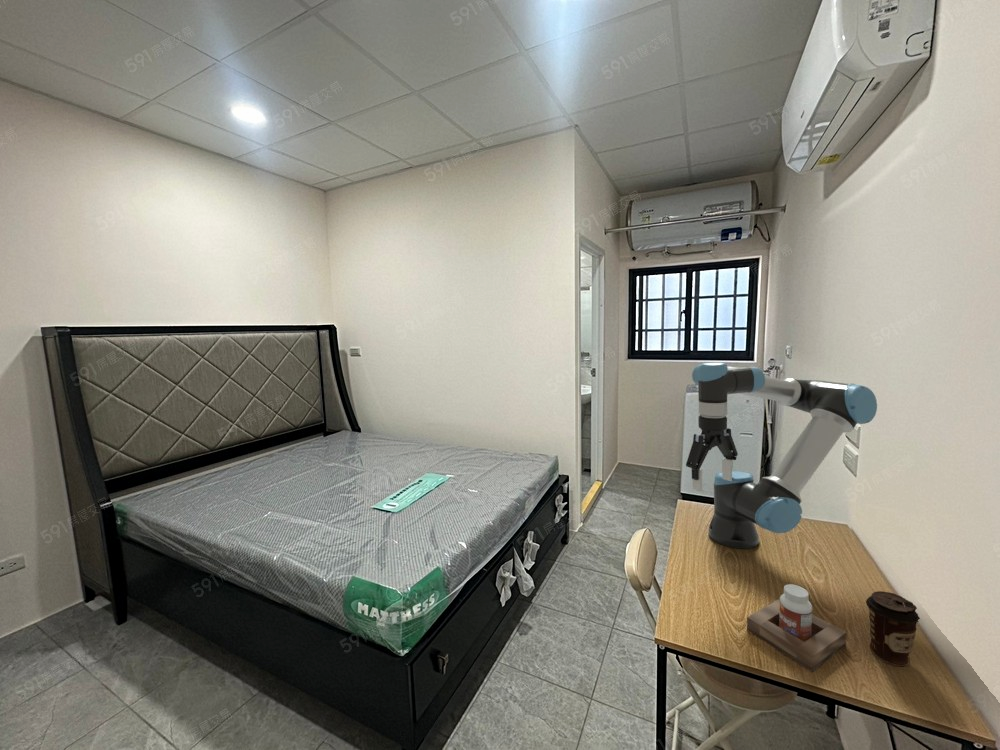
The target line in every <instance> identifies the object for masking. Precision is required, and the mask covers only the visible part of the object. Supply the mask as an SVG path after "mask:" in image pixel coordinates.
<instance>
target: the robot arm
mask: <svg viewBox="0 0 1000 750" xmlns="http://www.w3.org/2000/svg"><path fill="white" fill-rule="evenodd" d="M691 377H692V381H693V383H694V384H695V385H697V389H698V390H697V392H698V395H697V396H698V397H697V398H698V414H699V415H698V421H697V422H698V428H699V429H701V433H700V434H696V433H694V434H693V436H692V437H693V440H692V444H691V447H690V450H689V453H688V457H687V460H686V464H685V466H686V467H688V468H691V479H692V482H691V483H692V486H691V487H692V489H693V490H696V491H699V492H703V468H701V467H702V465H703V463H704V461H705V460H706V457H707V455H708V454H709V451H711V450H712V449H713V448H715V447H717V448H718V449H719V452H720V453H721V454H722V456H723V458H721V461H722V462H721V469H722V470H721V472H718V473H716V474H715V475H714V481H713V482H714V483H713V501H714V503H713V506H714V507H713V508H714V509H713V514H712V515H713V516H712V517H711V520H710V523H709V526H708V535H709V537H710V539H712V540H713V541H714V542H716V543H718V544H720V545H723V546H726V547H730V548H735V549H743V550H744V549H751V548H754V547H757V546H758V544H759V542H760V541H759V538H760V537H759V536H760V535H759V533H758V529H757V528H756V525H758V527H759V528H761V529H763V530H766V531H769V532H771V533H774V534H786V533H789V532H791V531H792V530H794V529H795V528H796V527H797V526H798V525H799V524H800V522H801V519H802V514H803V509H802V506H801V503H802V498H801V495H800V493H801V492H802V490H803V489H804V488H805V487H806V485H807V483H808V482H809V481H810V480H811V478H812V477H813V475H814V473H815V472H816V471H817V469H819V468H820V465H821V464H822V463H823V462H824V460H825V459H826V457H827V456H828V454H829V453H830V451H831V450H832V449H833V447H834V446H835V445H836V443H837V442H838V440H839V439H840V437H841V436H842V435H843V434H844V433H851V432H852V431H853V430H854V429H855V427H856V426H857V425H859V424H860V425H863V424H865V425H866V424H869V423H870V422H872V421H873V419H874V418H875V416H876V414H877V409H878V403H877V398H876V394H875V393H874V392H873V391H872V389H871V388H869V387H868V386H865V385H861V384H856V383H844V382H833V381H827V380H826V381H825V380H818V379H817V380H815V379H810V380H809V379H795V378H790V377H789V378H788V377H787V378H784V379H780V378H777V377H772V376H766V375H765V373H764V372H763V370H762V369H761V368H759V367H757V366H744V367H743V366H742V367H741V366H740V367H739V366H729V365H727V363H724V362H706V363H705V362H703V363H702V364H701V363H700V364H698V365H696V366H695V367H694V368H693V370H692V373H691ZM731 394H733V395H734V394H741V395H746V396H751V397H755V398H759V399H765V400H771V401H776V402H778V403H779V404H780V405H782V406H785V407H790V408H793V409H797V410H800V411H802V412H805V413H809V414H810V415H811V417H812V418H811V419H810V420H809V422H808V424H807V425H806V426H805V427H804V429H803V431H802V432H801V433H800V435H799V436H797V437H798V438H796V440H795V442H794V443H793V444H792V445H791V447H790V448H789V450H788V451H787V452H786V454H785V456H784V457H783V458H782V459H781V460H780V462H779V463H778V465H777V467H776V468H775V469H774V471H773V472H772V473H771V475H770V476H763V477H762V478H761V479H760V480H759V481H758V483H755V482H754V481H755V478H754V477H753V475H752V474H750V473H748V472H744V471H733V461H736V460H737V457H738V456H739V454H738V451H737V447H736V445H735V442H734V439H733V435H732V429H731V428H729V427H728V417H727V416H728V395H731Z"/></svg>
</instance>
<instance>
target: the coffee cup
mask: <svg viewBox="0 0 1000 750" xmlns="http://www.w3.org/2000/svg"><path fill="white" fill-rule="evenodd" d="M865 604H866V605H867V607H868V611H869V612H868V613H869V614H868V617H869V626H870V627H869V631H870V632H869V636H870V637H869V638H870V643H869V648H870V650H871V653H872V654H873V655H874V656H876V657H877V658H878V659H879V660H881V661H883V662H884V663H887V664H891V665H894V666H897V667H898V666H900V667H902V666H903V667H904V666H907V665H909V663H910V658H909V657H910V654H911V653H912V651H913V647H914V646H913V645H914V643H915V641H914V640H915V638H916V633H917V623H918V622H919V620H920V619H921V618H920V616H919V614H918V613H917V611H916V610H918V607H917V606H916V605H915V604H914V603H913V602H912V601H910V600H908V599H906V598H905V597H903V596H901V595H899V594H896V593H894V592H893V593H892V592H889V591H874V592H872V593H871V596H869V597H868V598H866V600H865Z"/></svg>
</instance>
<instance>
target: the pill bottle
mask: <svg viewBox="0 0 1000 750" xmlns="http://www.w3.org/2000/svg"><path fill="white" fill-rule="evenodd" d="M809 596H810V593H809V592H808V590H807V589H806V588H803V587H802V586H799V585H796V584H792V583H791V584H790V583H789V584H785V585H784V586H783V593H782V594H781V595H780V596H779V599H780V614H779V627H780V628H781V629H783V630H785V631H786V632H788V633H790V634H791V635H793V636H795V637H797V638H798V639H800V640H802V641H803V642H806V641H807V640H809V639H810V638H811V626H812V614H813V605H812V603H811V602H810V601H809Z"/></svg>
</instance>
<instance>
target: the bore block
mask: <svg viewBox="0 0 1000 750" xmlns="http://www.w3.org/2000/svg"><path fill="white" fill-rule="evenodd" d="M779 614H780V598H779V599H777V600H775V601H773V602H772V603H770V604H768V605H766V606H764V607H763V608H761V609H759V610H757V611H756V612H753V613H752V614H750V615H749V616H747V617H746V620H747V621H746V631H747V632H749V633H750V634H751V635H753V636H755V637H756V638H758V639H760V640H762V641H763V642H765V644H768V645H769V646H771V647H772V648H773V649H776V651H778V652H780V653H781V654H783V655H784V656H787V657H788V658H789V659H791V660H792V661H794V662H796V663H797V664H799V665H800V666H802V667H803V666H804V667H803V668H805V669H806V668H807V669H806V670H808V669H809V670H808V671H809V672H811V671H812V672H814V671H815V670H817V669H818V668H819V667H821V665H823V664H824V663H826V662H827V661H828V660H830V659H831V658H833V656H835V655H836V654H838V653H839V652H841V651H842V650H843V649H845V648H846V647H847V631H845V630H842V629H841V628H839V627H837V626H835V625H834V624H831V623H829V622H828V621H825V620H824V619H822V618H820V617H818V616H816V615H814V614H813V613H812V626H811V638H810V639H809V640H807V641H806V642H803V641H802V640H800V639H798V638H797V637H795V636H793V635H791V634H790V633H788V632H786V631H785V630H783V629H781V628H780V627H779ZM813 670H814V671H813Z"/></svg>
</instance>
